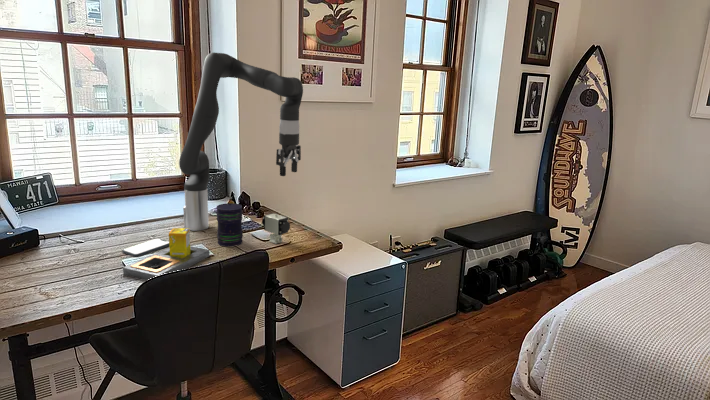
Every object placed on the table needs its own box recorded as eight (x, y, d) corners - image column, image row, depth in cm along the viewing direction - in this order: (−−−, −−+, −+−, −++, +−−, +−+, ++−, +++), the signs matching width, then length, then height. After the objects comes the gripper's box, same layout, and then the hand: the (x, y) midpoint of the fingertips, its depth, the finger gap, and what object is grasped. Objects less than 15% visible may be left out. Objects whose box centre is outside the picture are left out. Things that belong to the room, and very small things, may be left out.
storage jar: (241, 246, 189) (241, 209, 185) (216, 246, 187) (214, 210, 183) (243, 238, 198) (242, 203, 195) (218, 238, 197) (217, 203, 193)
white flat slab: (136, 259, 174) (172, 246, 187) (135, 255, 173) (172, 242, 186) (120, 253, 178) (157, 241, 191) (120, 249, 178) (157, 237, 191)
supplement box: (174, 256, 176) (172, 227, 173) (191, 256, 177) (190, 228, 174) (169, 262, 170) (168, 233, 168) (187, 262, 171) (185, 233, 168)
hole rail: (123, 274, 159) (122, 266, 158) (177, 249, 182) (177, 242, 182) (158, 282, 154) (157, 274, 153) (209, 256, 177) (209, 249, 177)
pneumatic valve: (281, 247, 190) (282, 218, 187) (261, 240, 197) (261, 212, 194) (291, 243, 194) (292, 215, 191) (271, 237, 201) (271, 209, 198)
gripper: (290, 129, 189) (289, 169, 194) (270, 132, 177) (270, 175, 181) (307, 131, 186) (306, 172, 191) (288, 134, 174) (287, 178, 178)
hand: (288, 173), depth 186 cm, fingers open, 8 cm apart
